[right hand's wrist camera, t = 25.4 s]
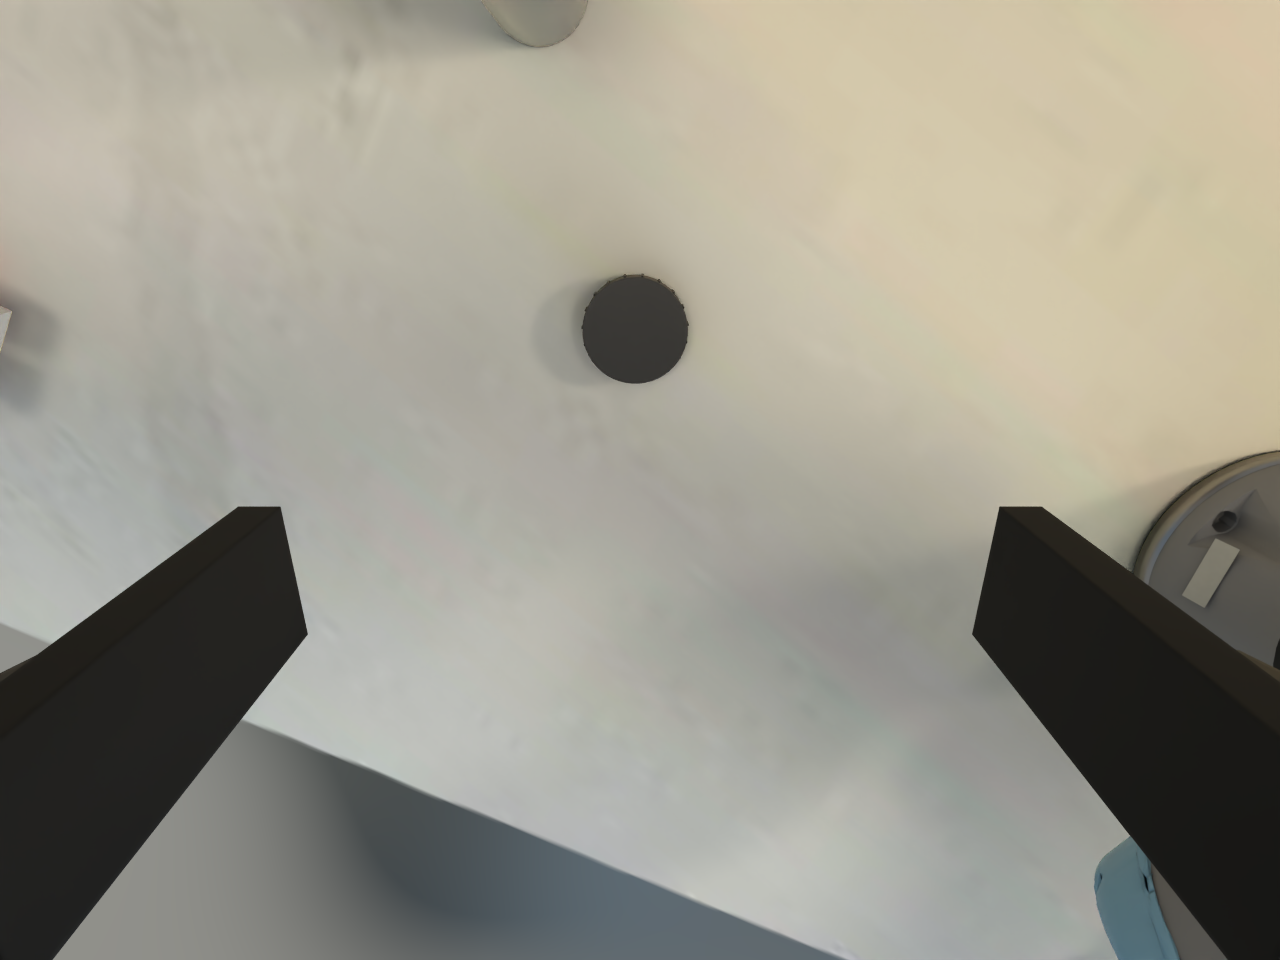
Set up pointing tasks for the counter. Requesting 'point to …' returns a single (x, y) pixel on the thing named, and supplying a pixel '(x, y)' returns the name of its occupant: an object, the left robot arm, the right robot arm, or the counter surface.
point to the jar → (537, 19)
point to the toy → (4, 323)
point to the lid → (635, 329)
